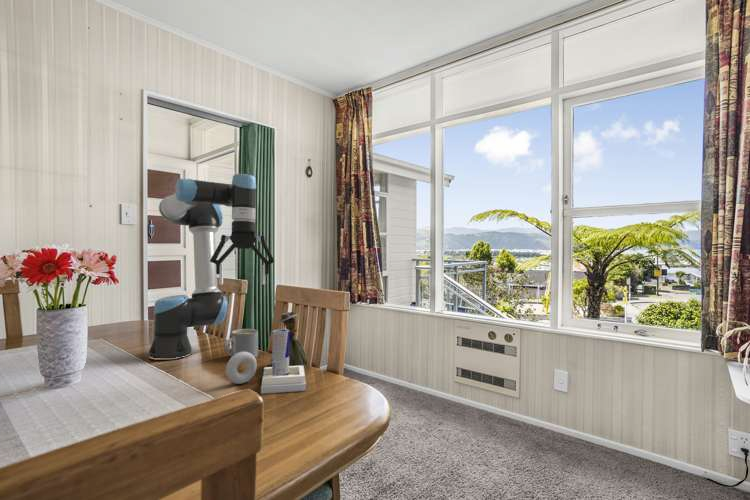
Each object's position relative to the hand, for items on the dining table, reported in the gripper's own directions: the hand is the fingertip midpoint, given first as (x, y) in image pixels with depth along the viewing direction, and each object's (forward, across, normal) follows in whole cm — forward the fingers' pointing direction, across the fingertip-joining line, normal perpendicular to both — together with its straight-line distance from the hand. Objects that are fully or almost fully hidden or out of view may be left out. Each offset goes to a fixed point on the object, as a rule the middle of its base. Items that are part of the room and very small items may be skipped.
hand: (242, 284), depth 130 cm
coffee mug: (+31, -3, +23) cm, 39 cm away
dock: (+31, +14, -10) cm, 35 cm away
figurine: (+31, +16, +8) cm, 36 cm away
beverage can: (+29, +13, -11) cm, 33 cm away
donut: (+31, +1, -8) cm, 32 cm away
